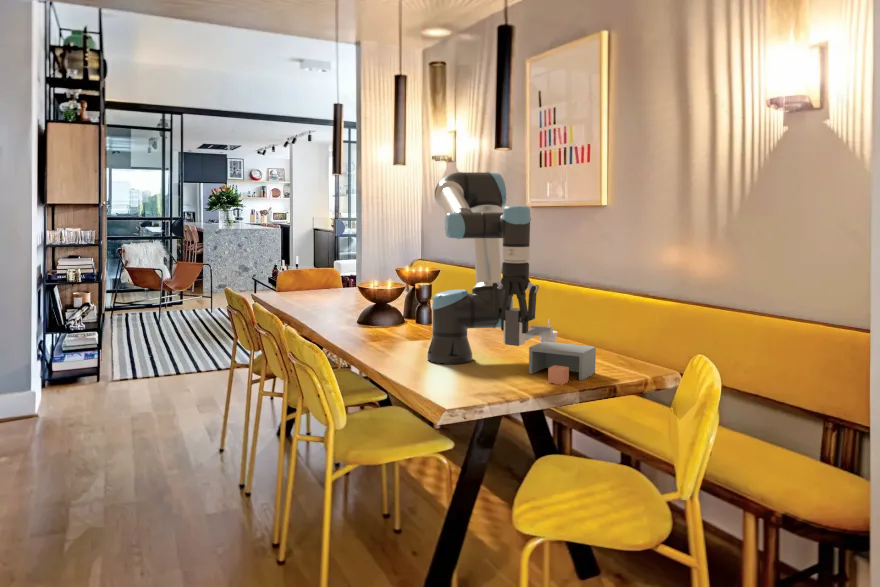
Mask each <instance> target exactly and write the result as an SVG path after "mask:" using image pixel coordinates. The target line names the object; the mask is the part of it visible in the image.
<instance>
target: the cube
mask: <svg viewBox="0 0 880 587" xmlns="http://www.w3.org/2000/svg"><path fill="white" fill-rule="evenodd" d="M547 369H548V371H547V373H548V374H547V383H548V384H550V383H554V384H553V385H558V384H561V385H560V386H564V385H566V384H568V383H569V382H568V381H570V378H569V377H570V371H569V367H565V366H557V365H554V366H552V367H550V368H547ZM567 382H568V383H567ZM565 383H566V384H565ZM563 384H564V385H563Z"/></svg>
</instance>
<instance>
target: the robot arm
mask: <svg viewBox="0 0 880 587" xmlns="http://www.w3.org/2000/svg"><path fill="white" fill-rule="evenodd" d="M434 199H435V201H436V203H437V204H438V206H440V207H441V208H442V209H443V211H444V213H445V216H444V217H445V219H444V231H445V236H446V237H447V238H448V239H457V240H462V239H463V240H464V239H466V240H467V239H469V240H470V239H471V240H473V242H474V244H473V246H474V264H475V285H474V286H473V287H472V289H471V293H468V290H467V289H463V288H462V289H451V290H444V291H440V292H437V293H436V294H434V295H433V297H432V305H431V309H432V337H431V338H432V339H431V341H430V344H429V347H428V350H427V359H428V360H430V361H432V362H431V363H433V362H436V363H435V364H440V363H444V364H443V365H457V364H458V365H459V364H466V362H467V363H469V362H472V361H473V351H472V348H471V345H470V341H469V339H468V329H488V328H489V329H492V328H493V329H496V328H500V330H501V332H503V344H505V310H506V309H509V308H514V299H513V297H514V296H516V298H517V301H518V306H519V307H518V308H519V309H520V314H521V320H522V321H521V322H519V346H522V345H524V344H526V341H525V333H528V328H529V322H530V321H533V320H535V319H536V308H537V307H536V305H537V293H538V290H539V289H540V286H539V285H538V284H533V283H532V282H531V281H530V278H529V276H530V263H529V262H528V261H530V246H531V245H530V241H531V239H530V237H531V236H530V235H531V221H532V220H531V219H532V218H531V209H530V207H529V206H527V205H526V206H525V205H508V206H507V205H506V203H507V188H506V183H505V180H504V178H503V176H502V175H501V174H500V173H497V172H490V171H487V172H482V171H481V172H479V171H478V172H474V171H473V172H471V171H470V172H463V171H462V172H461V171H459V172H453V173H450V174H448V175H445V176H444V177H443V178H442V179H440V180H439V181H438V183H437V184H436V186H435V189H434ZM502 207H504V208H502ZM502 209H503V210H502ZM500 239H502V260H503V262H502V265H501V251H500V250H501V249H500V248H501V247H500ZM501 267H502V268H501ZM526 290H528V291H529V293H528V300H526V298H527V294H526ZM527 301H528V303H527ZM428 360H427V361H428ZM430 361H429V362H430Z"/></svg>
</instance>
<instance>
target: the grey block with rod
mask: <svg viewBox="0 0 880 587" xmlns="http://www.w3.org/2000/svg"><path fill="white" fill-rule="evenodd" d="M521 321H522V320H521V314H520V308H519V307H513V308H509V309H506V310H505V343H504V345H505V346H515V347H519V346H520V345H519V322H521ZM553 331H554V328H553V326H550V327H548V326H544V325H534V324H532V325H530V327H529V326H528V333H525V342H526V341H529V340H530V339H533V338H534V337H540V336H544V337H553Z"/></svg>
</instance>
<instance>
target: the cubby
mask: <svg viewBox="0 0 880 587" xmlns="http://www.w3.org/2000/svg"><path fill="white" fill-rule="evenodd" d="M596 353H597V347H596V346H591V345H581V344H580V345H579V344H572V343H571V344H570V343H561V342H556V343H554V342H541V343H540V342H539V343H536V344H533V345H531V346H529V347H528V374H529V375H530V374H531V375H532V374H534V373H537V372H539V371H541V370H543V369H548V368H550V367H552V366H554V365H557V366H565V367H569V370H570V371H569V372H575V371H579V372H578V381H581V380H582V381H584V380H586V379H588V378H589V376H590V375H591V376H593V375H595V374H596V362H597V361H596V358H597V357H596V356H597V354H596ZM594 373H595V374H594ZM592 374H593V375H592ZM591 376H590V377H591ZM587 377H588V378H587ZM585 378H586V379H585ZM583 379H584V380H583Z"/></svg>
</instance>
